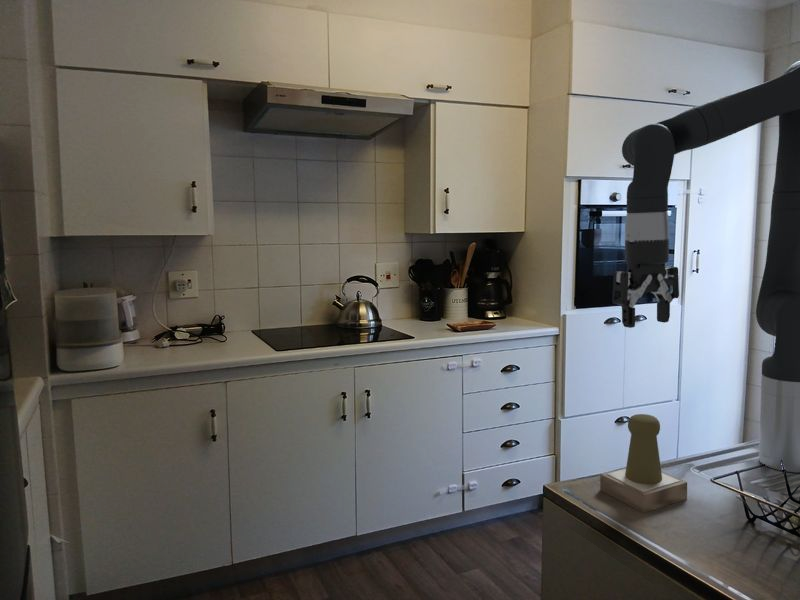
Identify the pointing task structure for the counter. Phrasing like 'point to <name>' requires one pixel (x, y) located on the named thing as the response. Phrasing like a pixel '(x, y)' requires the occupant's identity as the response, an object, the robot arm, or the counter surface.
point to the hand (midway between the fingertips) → (646, 324)
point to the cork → (643, 450)
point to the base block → (643, 490)
